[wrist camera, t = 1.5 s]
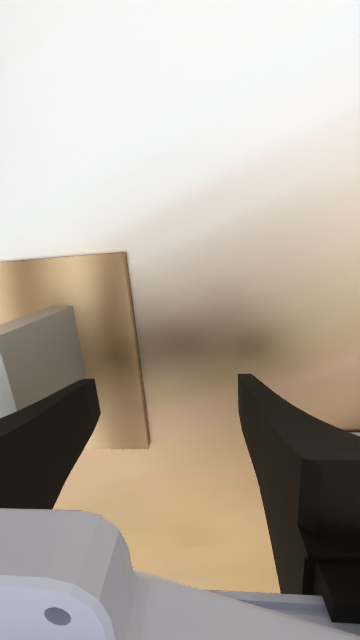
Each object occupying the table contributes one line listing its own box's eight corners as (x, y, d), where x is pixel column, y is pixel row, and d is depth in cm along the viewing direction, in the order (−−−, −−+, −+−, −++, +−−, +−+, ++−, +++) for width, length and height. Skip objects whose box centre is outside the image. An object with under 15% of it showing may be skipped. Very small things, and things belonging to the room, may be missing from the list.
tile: (72, 305, 15) (-4, 337, 10) (93, 414, 17) (41, 494, 12) (46, 307, 16) (-44, 339, 10) (70, 414, 18) (7, 493, 12)
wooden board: (125, 252, 15) (122, 252, 14) (150, 442, 18) (148, 448, 18) (-92, 270, 16) (-103, 270, 16) (-30, 443, 20) (-37, 449, 19)
